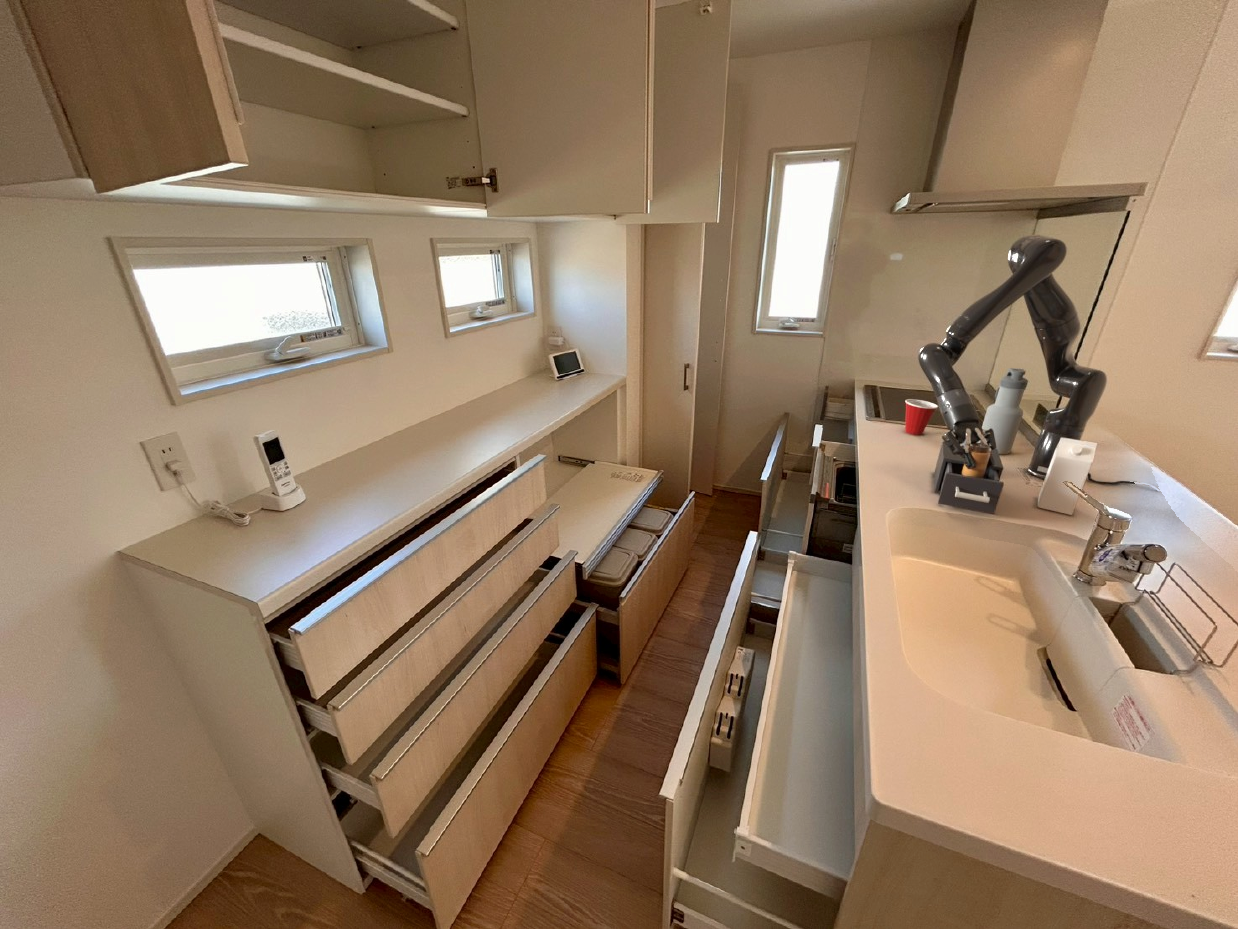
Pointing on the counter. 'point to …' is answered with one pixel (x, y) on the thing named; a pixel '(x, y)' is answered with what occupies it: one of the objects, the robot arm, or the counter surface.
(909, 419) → the plastic cup
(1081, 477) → the milk carton
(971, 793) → the counter surface
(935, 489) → the small drawer unit
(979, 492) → the drawer
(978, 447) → the pepper mill
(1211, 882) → the counter surface
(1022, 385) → the water bottle
